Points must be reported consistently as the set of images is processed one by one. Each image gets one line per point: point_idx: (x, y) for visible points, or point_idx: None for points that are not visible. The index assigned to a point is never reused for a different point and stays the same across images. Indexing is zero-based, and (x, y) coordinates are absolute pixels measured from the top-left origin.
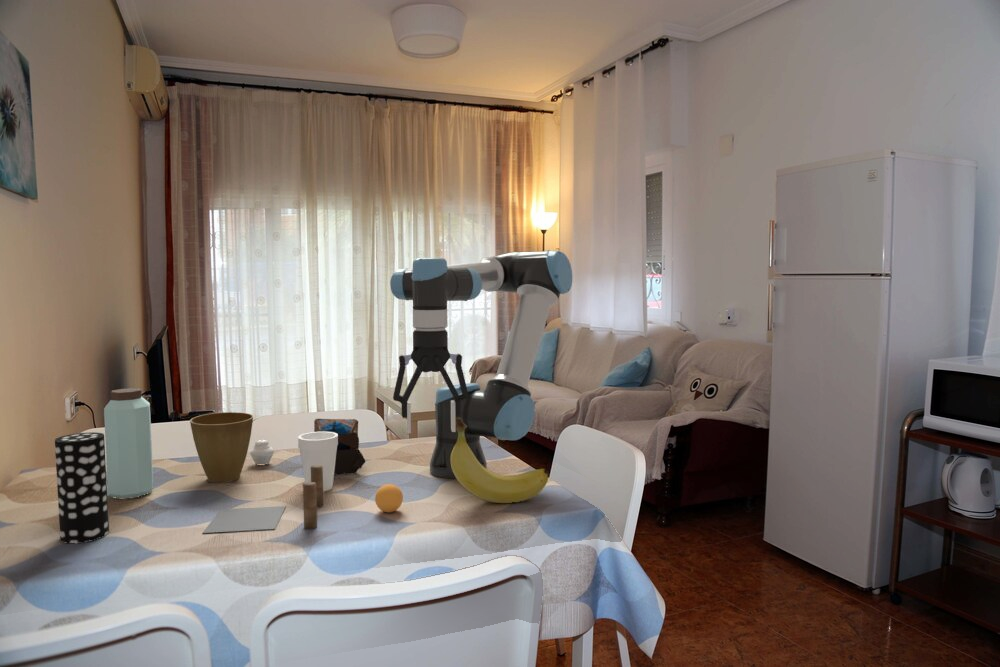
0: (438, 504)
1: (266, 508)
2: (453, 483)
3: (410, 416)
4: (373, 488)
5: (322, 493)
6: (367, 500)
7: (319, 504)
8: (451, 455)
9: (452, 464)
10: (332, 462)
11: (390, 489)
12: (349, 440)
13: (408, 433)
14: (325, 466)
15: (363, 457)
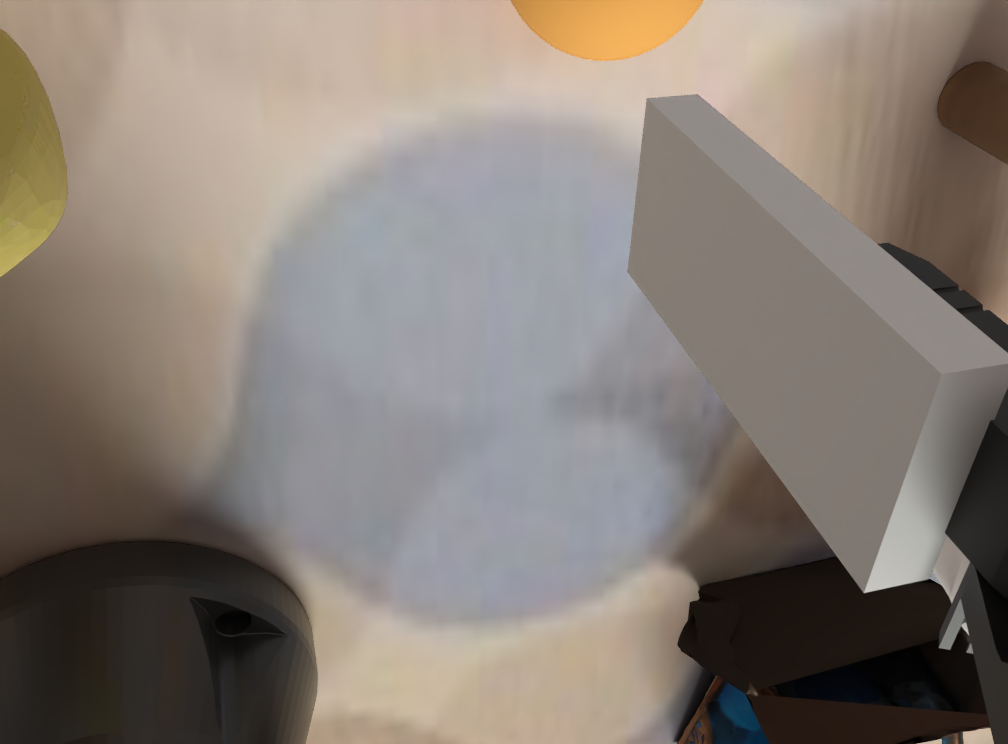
0: (205, 47)
1: None
2: (139, 469)
3: (785, 224)
4: (636, 377)
5: (998, 114)
6: None
7: (978, 71)
8: (34, 157)
9: (25, 74)
10: None
11: None
12: (818, 725)
13: (683, 96)
14: None
15: (697, 660)
